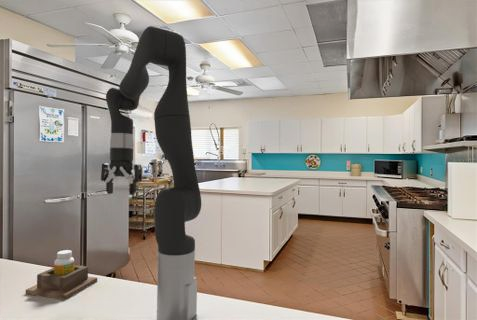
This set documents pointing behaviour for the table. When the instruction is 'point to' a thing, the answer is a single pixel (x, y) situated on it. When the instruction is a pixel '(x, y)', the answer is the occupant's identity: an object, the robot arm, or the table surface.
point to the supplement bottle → (64, 263)
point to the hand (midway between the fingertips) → (120, 194)
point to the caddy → (61, 283)
